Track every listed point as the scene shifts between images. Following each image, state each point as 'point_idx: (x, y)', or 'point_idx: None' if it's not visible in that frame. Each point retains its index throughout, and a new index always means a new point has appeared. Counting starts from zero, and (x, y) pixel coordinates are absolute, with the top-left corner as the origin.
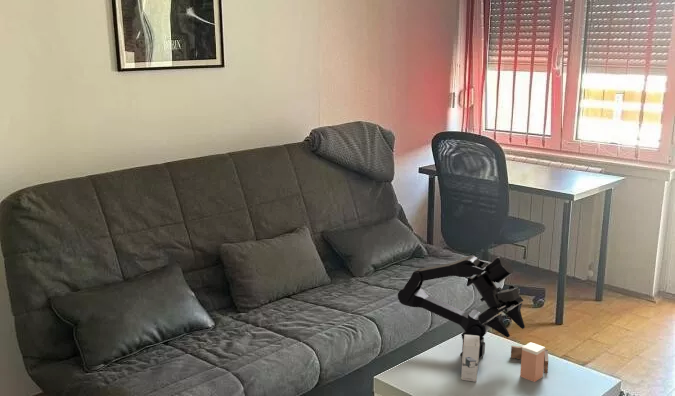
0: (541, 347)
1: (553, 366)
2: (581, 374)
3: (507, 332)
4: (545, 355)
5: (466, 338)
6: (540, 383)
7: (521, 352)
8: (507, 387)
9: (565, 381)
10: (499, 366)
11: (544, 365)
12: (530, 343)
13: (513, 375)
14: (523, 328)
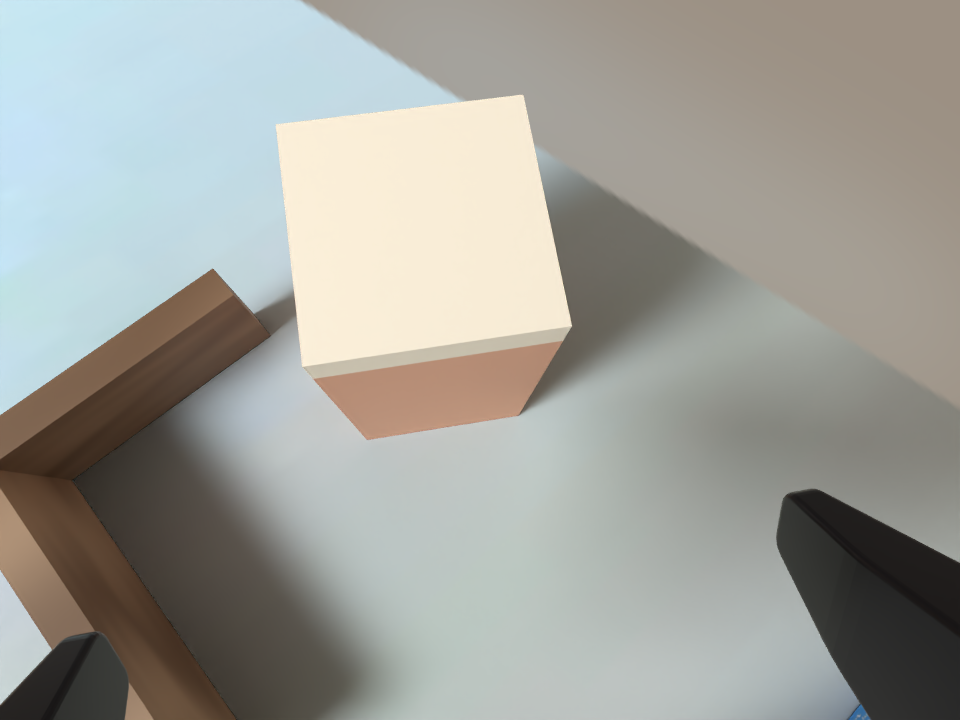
0: (336, 145)
1: None
2: (35, 134)
3: (890, 533)
4: (103, 378)
5: None
6: None
7: (169, 689)
8: (768, 345)
9: (263, 139)
10: (532, 686)
11: (213, 351)
12: (352, 332)
13: (557, 464)
14: (102, 662)
